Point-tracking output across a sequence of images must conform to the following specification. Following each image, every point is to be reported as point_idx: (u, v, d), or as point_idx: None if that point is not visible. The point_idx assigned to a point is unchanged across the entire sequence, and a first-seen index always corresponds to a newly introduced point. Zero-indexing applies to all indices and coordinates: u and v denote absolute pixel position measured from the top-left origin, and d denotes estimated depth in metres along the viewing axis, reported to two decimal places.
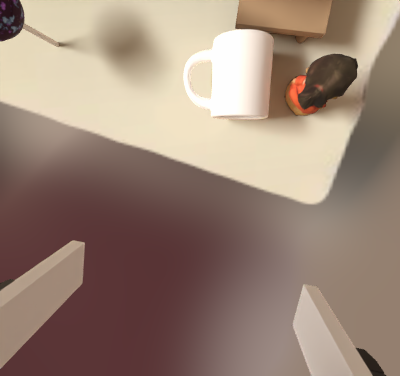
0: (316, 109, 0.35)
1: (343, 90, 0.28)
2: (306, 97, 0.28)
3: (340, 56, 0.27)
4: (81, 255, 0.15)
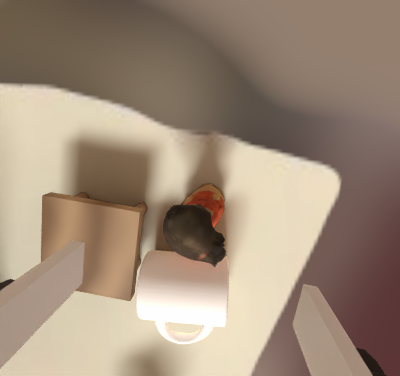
0: (220, 202, 0.29)
1: (205, 221, 0.22)
2: (213, 265, 0.22)
3: (166, 229, 0.22)
4: (81, 255, 0.15)
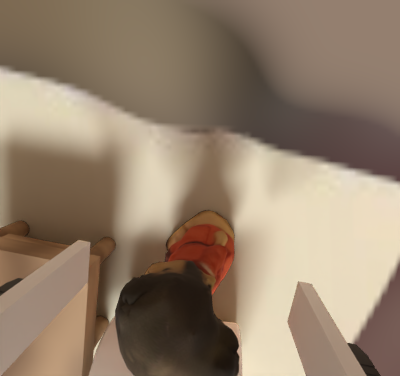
0: (228, 245, 0.17)
1: (199, 316, 0.10)
2: None
3: (118, 329, 0.11)
4: (87, 254, 0.15)
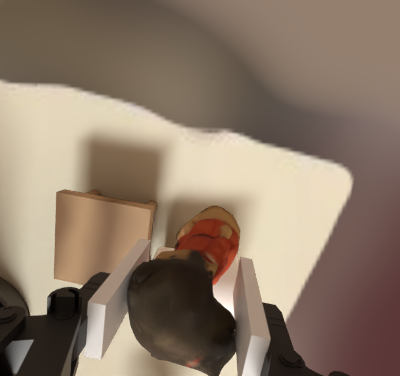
0: (232, 238, 0.19)
1: (200, 297, 0.12)
2: None
3: (129, 305, 0.12)
4: (148, 251, 0.16)
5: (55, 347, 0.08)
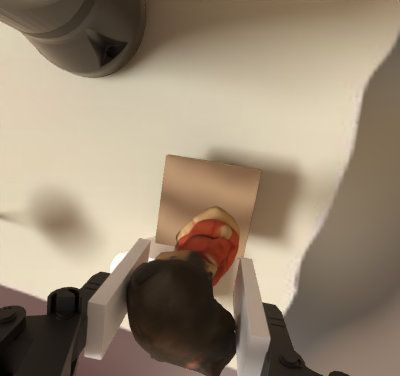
0: (232, 239, 0.18)
1: (199, 298, 0.11)
2: None
3: (128, 307, 0.12)
4: (148, 251, 0.16)
5: (55, 347, 0.08)
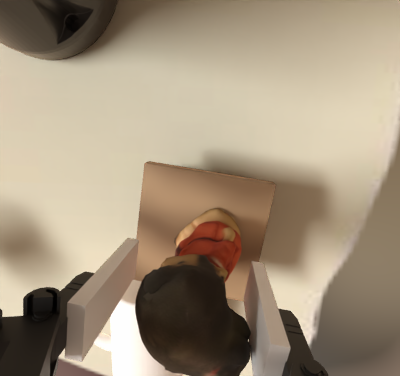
0: (235, 241, 0.18)
1: (215, 304, 0.11)
2: None
3: (139, 317, 0.11)
4: (136, 251, 0.16)
5: (33, 348, 0.08)
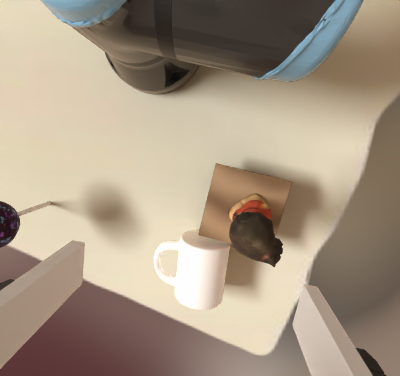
0: None
1: (270, 227, 0.26)
2: (272, 265, 0.26)
3: (235, 231, 0.26)
4: (81, 255, 0.15)
5: None
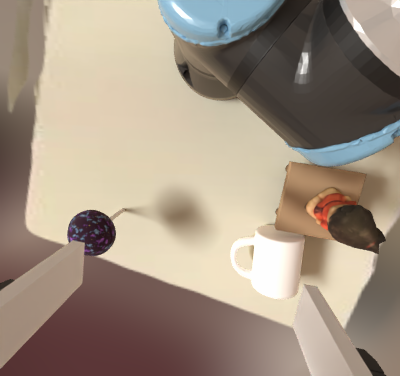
0: None
1: (372, 218, 0.28)
2: (375, 252, 0.28)
3: (340, 223, 0.28)
4: (81, 255, 0.15)
5: None
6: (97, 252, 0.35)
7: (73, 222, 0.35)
